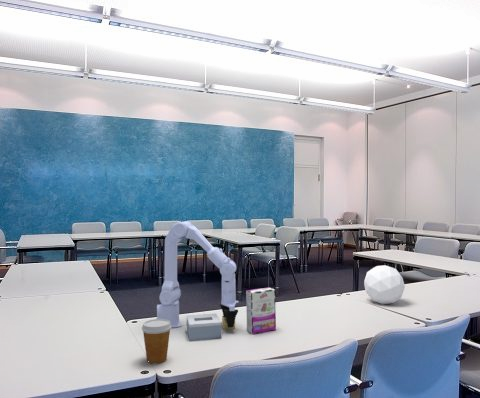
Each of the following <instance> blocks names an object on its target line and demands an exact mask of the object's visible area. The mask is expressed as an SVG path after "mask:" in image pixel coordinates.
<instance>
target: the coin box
mask: <svg viewBox="0 0 480 398" xmlns="http://www.w3.org/2000/svg"><path fill="white" fill-rule="evenodd" d="M186 334H187V337H188V340H189V342H192V341H195V342H197V341H206V340H217V339H222V321H221V319H220V318H219V316H218V314H217V313H209V314H208V313H207V314H204V313H203V314H193V315H191V314H190V315H186Z"/></svg>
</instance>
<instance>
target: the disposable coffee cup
mask: <svg viewBox="0 0 480 398" xmlns="http://www.w3.org/2000/svg"><path fill="white" fill-rule="evenodd" d="M172 328H173V327H172V325H171V324H170V321H169V320H165V319H155V318H154V319H149V320H146V321H144V322H143V323H142V326H141V330H142V332H143V333H142V334H143V339H144V340H143V341H144V348H145V356H146V361H147V360H148V361H149V362H150V363H149V364H152V363H158V364H162V363H164V362H166V361H167V360H168V359H167V357H168V351H169V342H170V334H171V333H170V332H171V329H172Z"/></svg>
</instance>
